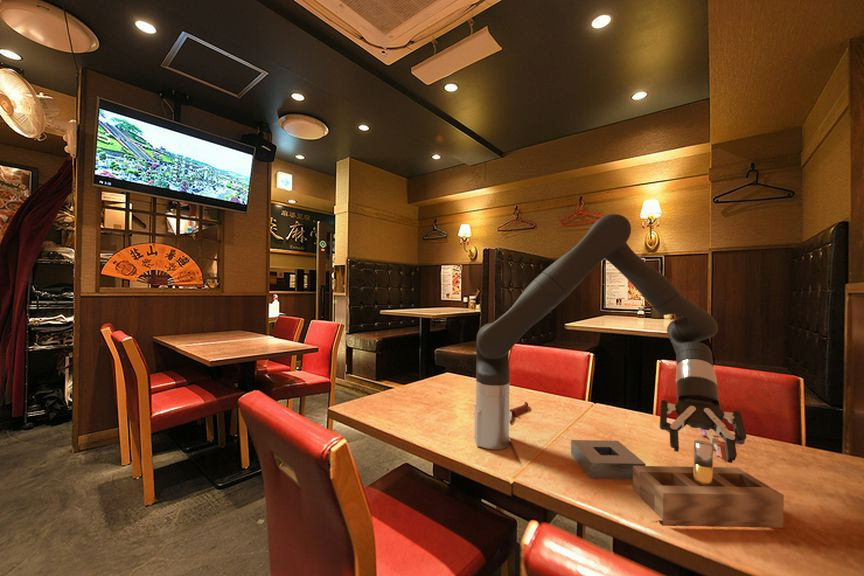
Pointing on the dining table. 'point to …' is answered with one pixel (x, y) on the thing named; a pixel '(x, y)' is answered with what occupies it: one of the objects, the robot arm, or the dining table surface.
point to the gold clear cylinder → (703, 463)
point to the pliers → (517, 411)
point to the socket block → (605, 459)
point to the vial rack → (708, 497)
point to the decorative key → (712, 440)
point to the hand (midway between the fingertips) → (702, 455)
